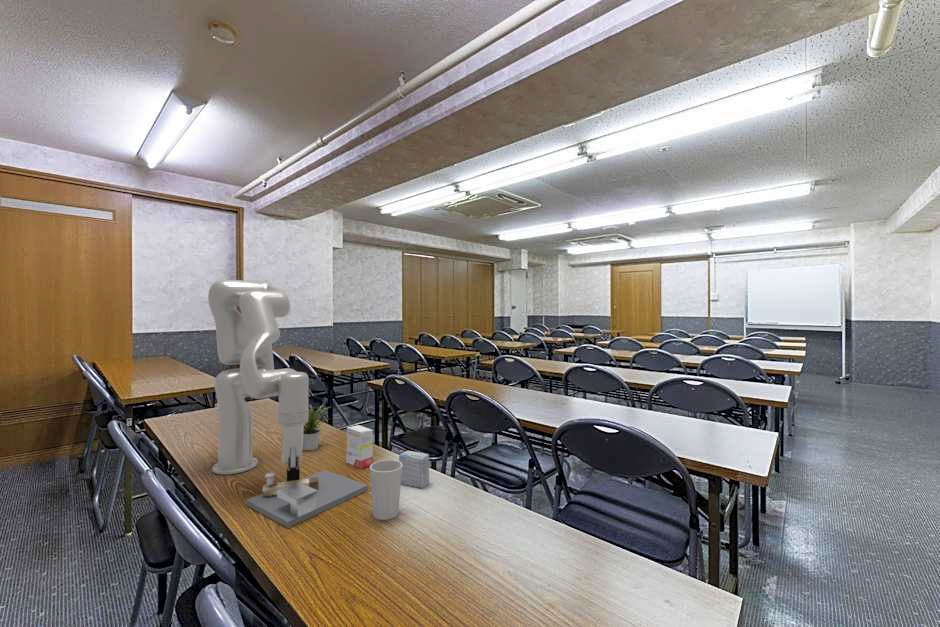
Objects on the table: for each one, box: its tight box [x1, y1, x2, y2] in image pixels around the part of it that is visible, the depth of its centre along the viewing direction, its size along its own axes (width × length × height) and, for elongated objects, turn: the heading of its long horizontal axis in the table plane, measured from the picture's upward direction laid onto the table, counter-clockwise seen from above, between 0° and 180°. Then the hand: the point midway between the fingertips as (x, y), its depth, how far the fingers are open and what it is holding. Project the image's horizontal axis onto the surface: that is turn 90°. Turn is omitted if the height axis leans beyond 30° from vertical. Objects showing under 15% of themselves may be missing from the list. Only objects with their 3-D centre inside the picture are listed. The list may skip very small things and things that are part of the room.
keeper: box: [277, 483, 318, 517], centre depth 100 cm, size 8×6×4 cm
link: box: [262, 477, 318, 496], centre depth 109 cm, size 14×4×2 cm, turn 111°
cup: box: [369, 459, 402, 521], centre depth 101 cm, size 8×8×12 cm
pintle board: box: [245, 469, 369, 529], centre depth 109 cm, size 19×24×7 cm
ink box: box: [345, 424, 374, 469], centre depth 134 cm, size 9×5×12 cm, turn 49°
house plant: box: [302, 403, 331, 451], centre depth 148 cm, size 14×14×16 cm
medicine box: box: [398, 450, 430, 489], centre depth 119 cm, size 8×4×9 cm, turn 65°
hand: (293, 482), depth 112 cm, fingers closed
